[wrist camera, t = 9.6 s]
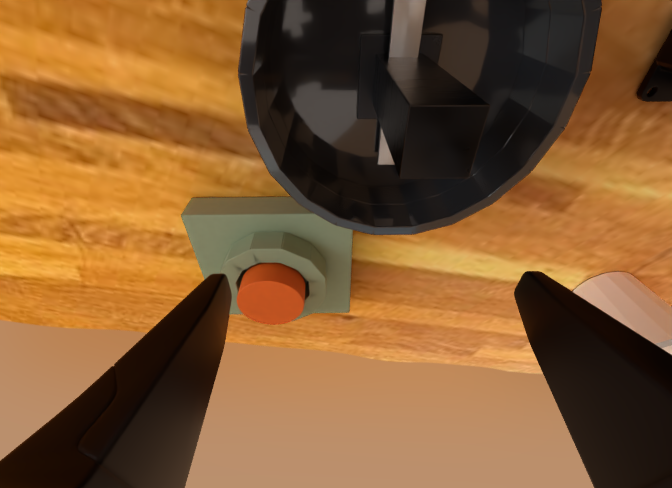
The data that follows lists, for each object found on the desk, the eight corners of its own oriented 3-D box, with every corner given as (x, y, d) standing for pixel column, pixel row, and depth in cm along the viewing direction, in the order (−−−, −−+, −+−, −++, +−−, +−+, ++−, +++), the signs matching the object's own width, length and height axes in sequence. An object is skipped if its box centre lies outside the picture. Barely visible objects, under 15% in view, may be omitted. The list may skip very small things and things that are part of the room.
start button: (303, 261, 21) (301, 280, 20) (307, 304, 24) (306, 324, 22) (236, 262, 21) (230, 281, 20) (248, 305, 24) (243, 325, 22)
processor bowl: (588, -121, 13) (700, -164, 9) (484, 189, 22) (517, 233, 18) (235, -123, 13) (195, -167, 9) (277, 191, 22) (266, 236, 18)
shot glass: (653, 292, 29) (727, 363, 24) (575, 325, 32) (625, 395, 27) (631, 253, 26) (711, 324, 21) (547, 294, 29) (598, 366, 24)
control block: (351, 195, 22) (355, 230, 19) (348, 293, 28) (350, 331, 25) (191, 197, 22) (169, 232, 19) (224, 294, 28) (211, 333, 25)
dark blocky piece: (362, -35, 14) (395, -49, 7) (452, -34, 14) (571, -48, 7) (354, 157, 20) (369, 252, 13) (418, 157, 20) (467, 251, 13)
